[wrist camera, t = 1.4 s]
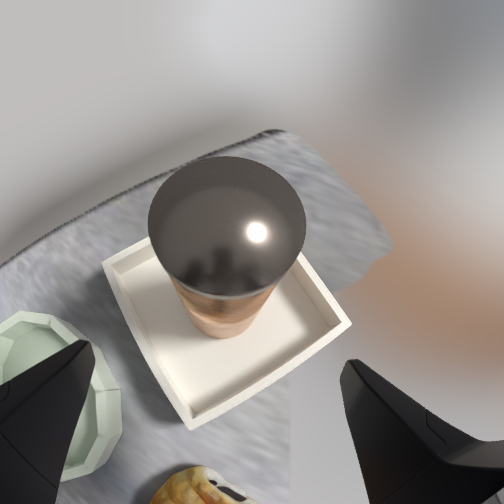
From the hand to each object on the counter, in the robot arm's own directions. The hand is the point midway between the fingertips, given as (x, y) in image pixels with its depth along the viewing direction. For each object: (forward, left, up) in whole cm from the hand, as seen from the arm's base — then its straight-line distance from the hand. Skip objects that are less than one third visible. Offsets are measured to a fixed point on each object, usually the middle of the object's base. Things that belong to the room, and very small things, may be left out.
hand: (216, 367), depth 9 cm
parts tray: (+4, -3, -12) cm, 13 cm away
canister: (+4, -3, -11) cm, 12 cm away
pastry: (-9, +8, -12) cm, 17 cm away
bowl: (+4, +14, -12) cm, 19 cm away
